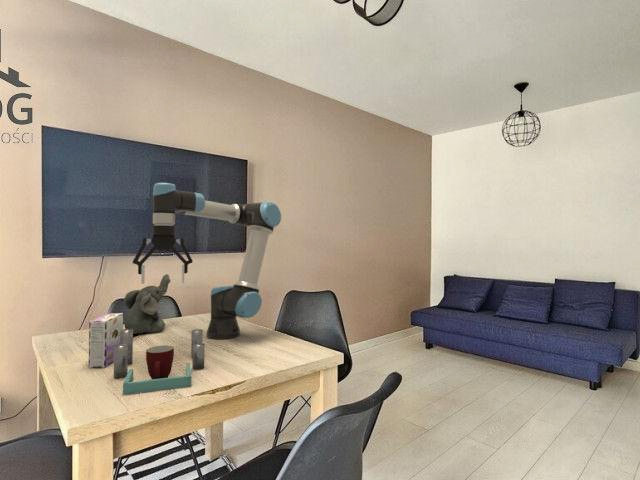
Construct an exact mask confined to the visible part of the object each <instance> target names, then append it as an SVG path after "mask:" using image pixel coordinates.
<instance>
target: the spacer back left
mask: <svg viewBox="0 0 640 480" xmlns="http://www.w3.org/2000/svg"><path fill="white" fill-rule="evenodd" d="M203 334H204V333H203V329H201V328H198V329H197V328H196V329H192V330H191V337H190V338H191V343H190V345H191V346H190V347H191V351H190V355H191V356H190V357H191V358H192V345H193V344H197V343H203V336H204V335H203Z"/></svg>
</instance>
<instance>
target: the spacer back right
mask: <svg viewBox="0 0 640 480" xmlns="http://www.w3.org/2000/svg"><path fill="white" fill-rule="evenodd" d="M120 344H128V366H130V365H132V364H133V363H134V362H133V361H134V360H133V358H134V357H133V354H134V353H133V352H134V351H133V350H134V348H133V347H134V346H133V345H134V335H133V329H124V328H123V330H121V331H120Z"/></svg>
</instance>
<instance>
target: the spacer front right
mask: <svg viewBox="0 0 640 480" xmlns="http://www.w3.org/2000/svg"><path fill="white" fill-rule="evenodd" d="M128 367H129V365H128V344H118V345H115V346H114V362H113V379H115V380H116V379H117V380H119V379H125V378H126V376H127V373H128V371H129V369H128Z"/></svg>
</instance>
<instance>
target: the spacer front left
mask: <svg viewBox="0 0 640 480" xmlns="http://www.w3.org/2000/svg"><path fill="white" fill-rule="evenodd" d="M205 346H206V345H205V343H203V342H202V343H197V344H193V345H192V359H191V360H192V361H191V363H192V365H191V366H192V367H191V368H192V369H191V370H195V371H198V370H199V371H200V370H202V369H204V368H205Z"/></svg>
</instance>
